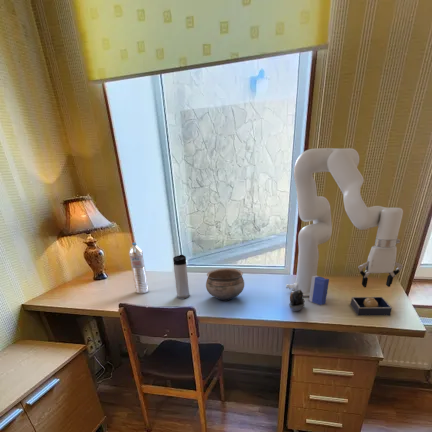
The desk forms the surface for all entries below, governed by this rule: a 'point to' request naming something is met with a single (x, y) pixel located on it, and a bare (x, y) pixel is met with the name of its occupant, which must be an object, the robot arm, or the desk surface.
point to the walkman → (318, 290)
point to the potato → (370, 302)
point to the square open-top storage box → (360, 310)
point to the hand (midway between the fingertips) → (376, 286)
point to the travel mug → (181, 276)
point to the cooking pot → (225, 283)
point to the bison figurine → (296, 300)
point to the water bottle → (138, 269)
